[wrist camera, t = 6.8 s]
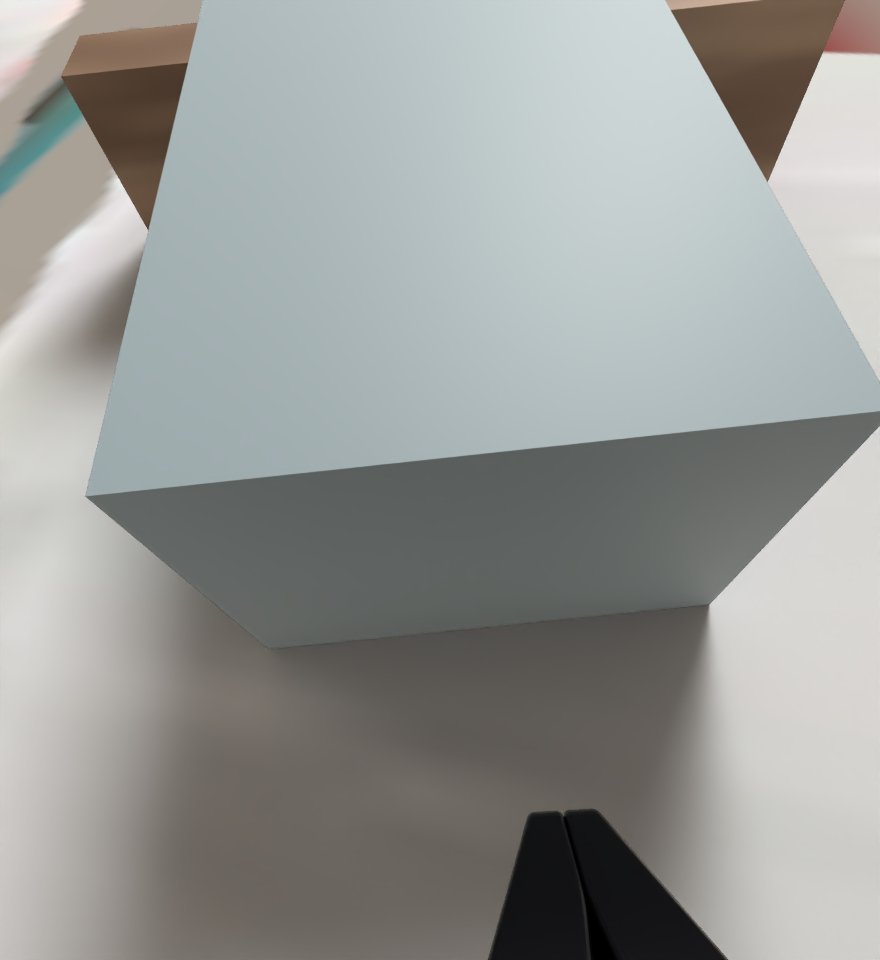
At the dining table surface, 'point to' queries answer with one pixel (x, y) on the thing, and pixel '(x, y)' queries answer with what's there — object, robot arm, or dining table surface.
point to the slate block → (466, 325)
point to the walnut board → (694, 3)
